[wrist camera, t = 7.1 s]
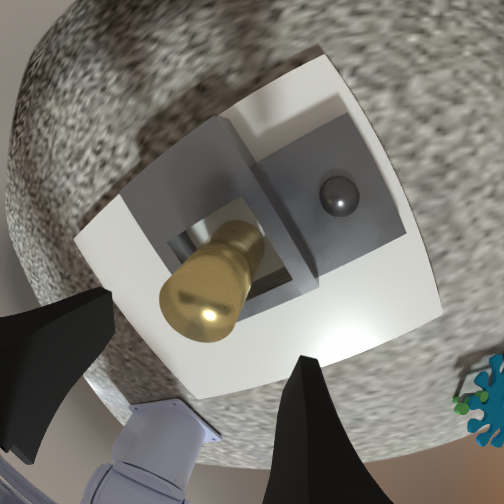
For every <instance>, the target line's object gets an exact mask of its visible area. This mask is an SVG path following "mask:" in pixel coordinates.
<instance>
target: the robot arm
mask: <svg viewBox="0 0 504 504" xmlns="http://www.w3.org/2000/svg"><path fill="white" fill-rule="evenodd" d="M114 333H115V325H114V313H113V299H112V292H111V291H109V290H107V289H104V288H102V287H97V288H94V289H90V290H88V291H85V292H82V293H79V294H76V295H74V296H71V297H68V298H65V299H63V300H60V301H57V302H55V303H52V304H49V305H46V306H43V307H40V308H36V309H33V310H30V311H27V312H23V313H19V314H15V315H10V316H6V317H0V448H1V449H2V450H3V451H4V452H5V453H8V451H9V450H11V451H12V452H13V453H14V454H15V455H16V456H17V457H18V458H19V459H20V460H21V461H23V462H24V463H25V464H27V465H31V464H34V461H35V458H36V455H37V452H38V449H39V447H40V444H41V441H42V439H43V437H44V435H45V432H46V430H47V428H48V426H49V424H50V422H51V420H52V418H53V417H54V415H55V413H56V411H57V409H58V408H59V406H60V404H61V403H62V401H63V400H64V398H65V396H66V395H67V393H68V392H69V391H70V389H71V388H72V386H73V385H74V384H75V383H76V382H77V380H78V379H79V378H80V377H81V376H82V375H83V374H84V372H85V371H86V370H87V369H88V368H89V367H90V365H91V364H92V363H93V362H94V361H95V360H96V358H97V357H98V356H99V355H100V354H101V352H102V351H103V350H104V348H105V347H106V345H107V344H108V342H109V341H110V339H111V338H112V336H113V334H114ZM128 408H129V410H130V411H131V412H133V413H132V415H131V416H130V418H129V420H128V421H127V423H126V425H125V426H124V428H123V429H122V431H121V433H120V434H119V436H118V438H117V439H116V441H115V442H114V445H113V447H112V460H113V462H114V465H112V464H111V463H106V464H102V465H100V466H99V467H98V468H97V469H96V470H95V472H94V473H93V474H92V476H91V478H90V479H89V481H88V483H87V485H86V488H85V490H84V493H83V498H82V501H81V503H80V504H191V503H190V501H189V500H188V499H185V498H184V497H185V495H186V492H185V491H184V490H185V487H186V485H187V482H188V480H189V477H190V475H191V472H192V470H193V467H194V465H195V462H196V460H197V457H198V454H199V452H200V449H201V447H202V444H203V442H215V441H221V440H222V437H221V436H220V435H219V434H218V433H216V432H215V431H214V430H213V429H212V428H211V427H210V426H208V425H207V424H206V423H205V422H204V421H203V420H202V419H201V418H200V417H198V416H197V415H196V414H195V413H194V412H193V411H192V410H191V409H190V408H189V407H188V406H187V405H186V404H185V403H184V402H183V401H182V400H180V399H170V400H164V401H157V402H150V403H143V404H135V405H129V407H128ZM0 475H1V476H2V477H3V478H4V479H5V480H6V481H7V482H8V483H9V484H10V485H11V486H12V487H13V488H15V489H16V490H17V491H18V492H19V493H20V494H21V495H22V496H24V497H25V498H26V499H27V500H28V501H30V502H31V503H32V504H58V503H56V502H55V501H54V500H52V499H51V498H49V497H48V496H47V495H45V494H44V493H43V492H42V491H40V490H39V489H38V488H36V487H35V486H34V485H33V484H32V483H30V482H29V481H28V480H27V479H26V478H24V477H23V476H22V475H21V474H20V473H19V472H18V471H16V470H15V469H14V468H13V467H12V466H11V465H10V464H9V463H8V462H7V461H6V460H5V459H4V458H3V457H2V456H1V455H0ZM19 493H17V492H16V491H15V490H14V489H12V488H11V487H10V486H8V485H7V484H6V483H5V482H3V481H2V480H1V479H0V504H30V503H28V502H27V500H25V498H23V497H22V496H21V495H20V494H19ZM262 504H394V503H393V502H392V501H391V500H390V499H389V498H388V497H387V496H386V495H385V493H384V492H383V491H382V489H381V488H380V487H379V485H378V484H377V483H376V481H375V480H374V479H373V478H372V476H371V475H370V473H369V472H368V471H367V469H366V468H365V466H364V464H363V463H362V461H361V460H360V458H359V456H358V455H357V453H356V451H355V449H354V448H353V446H352V444H351V442H350V440H349V438H348V436H347V434H346V432H345V430H344V428H343V426H342V424H341V421H340V419H339V417H338V414H337V412H336V409H335V407H334V404H333V402H332V399H331V397H330V394H329V391H328V389H327V386H326V383H325V380H324V377H323V374H322V371H321V367H320V364H319V361H318V359H316V358H312V357H308V356H304V355H300V356H299V358H298V361H297V363H296V365H295V367H294V369H293V371H292V373H291V375H290V377H289V379H288V381H287V383H286V385H285V387H284V389H283V393H282V397H281V401H280V406H279V410H278V415H277V423H276V432H275V441H274V450H273V458H272V466H271V472H270V477H269V481H268V485H267V488H266V492H265V496H264V499H263V503H262Z"/></svg>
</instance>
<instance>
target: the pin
mask: <svg viewBox="0 0 504 504" xmlns="http://www.w3.org/2000/svg"><path fill="white" fill-rule="evenodd" d="M264 249H265V246H264V240H263V237H262V235H261V234H260V232H259V231H258V230H257V229H256V228H255V227H254V226H253V225H251V224H250V223H248V222H245V221H241V220H232V221H228V222H225V223H223V224H222V225H221V226H219V227H218V228H217V229H216V230H215V231H214V232H213V233H212V234H211V235H210V236H209V237H208V238H207V239H206V240H205V241H204V243H203V244H202V245H201V246H200V247H199V248H198V249H197V250H196V251H195V252H194V253H193V254H192V255H191V256H190V257H189V258H188V259H187V260H186V261H185V262H184V263H183V264H182V265H181V266H180V267H179V268H178V269H177V270H176V271H175V272H174V273H173V274H172V276H171V277H170V278H169V279H168V280H167V281H166V282H165V283H164V284H163V286H162V288H161V290H160V293H159V305H160V309H161V312H162V314H163V316H164V318H165V319H166V321H167V322H168V324H169V325H170V326H171V327H172V328H173V329H174V330H175V331H177V332H178V333H179V334H181V335H182V336H184V337H186V338H188V339H191V340H193V341H197V342H203V343H212V342H217V341H220V340H222V339H224V338H226V337H227V336H228V335H229V334H230V333H231V332H232V330H233V328H234V326H235V324H236V322H237V319H238V317H239V314H240V312H241V309H242V307H243V304H244V302H245V299H246V297H247V294H248V292H249V290H250V287H251V285H252V282H253V280H254V277H255V275H256V272H257V270H258V267H259V265H260V262H261V260H262V257H263V254H264Z"/></svg>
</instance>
